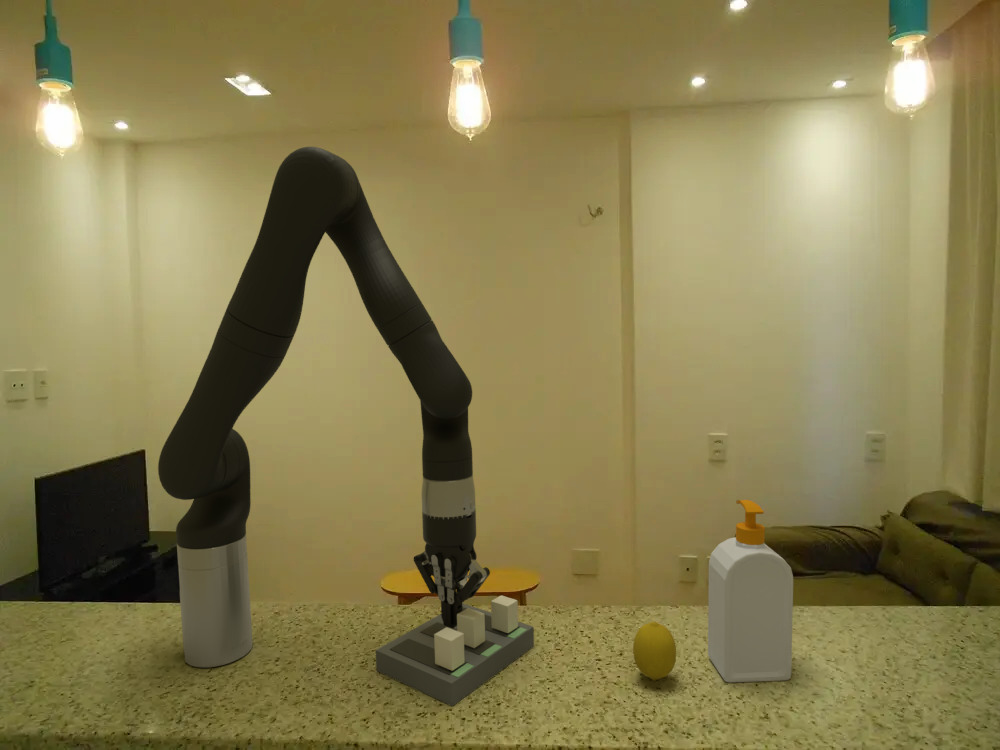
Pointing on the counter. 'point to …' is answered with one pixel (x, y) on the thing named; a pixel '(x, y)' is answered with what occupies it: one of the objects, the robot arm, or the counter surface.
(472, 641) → the block
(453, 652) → the block
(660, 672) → the lemon
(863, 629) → the counter surface
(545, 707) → the counter surface
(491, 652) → the breaker panel
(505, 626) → the block
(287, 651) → the counter surface
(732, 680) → the soap bottle
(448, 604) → the robot arm
